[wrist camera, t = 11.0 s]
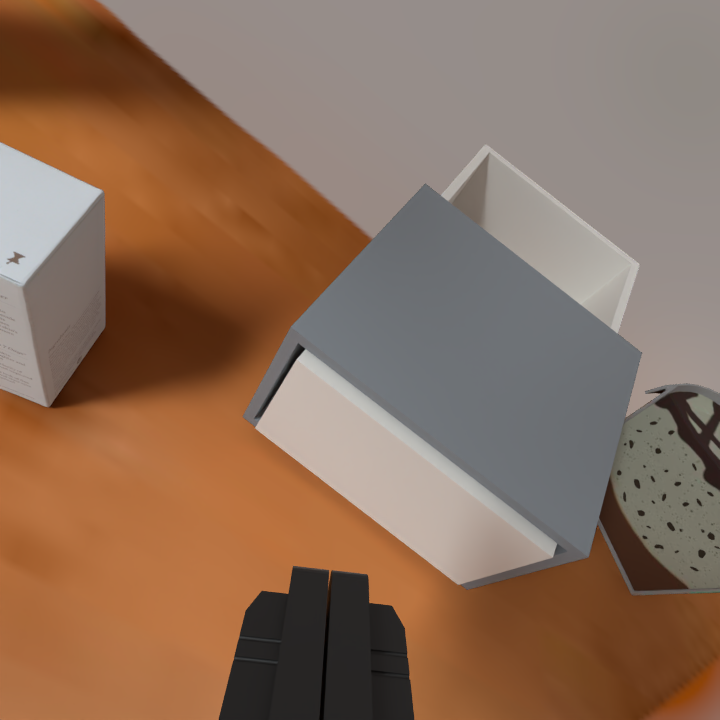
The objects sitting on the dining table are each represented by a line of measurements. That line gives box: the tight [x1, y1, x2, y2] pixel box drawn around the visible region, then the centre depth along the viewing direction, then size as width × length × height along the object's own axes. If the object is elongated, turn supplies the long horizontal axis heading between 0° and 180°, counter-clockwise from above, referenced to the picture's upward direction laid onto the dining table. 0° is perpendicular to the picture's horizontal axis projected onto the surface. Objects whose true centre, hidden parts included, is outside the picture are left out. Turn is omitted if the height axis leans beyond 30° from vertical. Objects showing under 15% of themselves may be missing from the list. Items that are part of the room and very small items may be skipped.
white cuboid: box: [255, 144, 639, 585], centre depth 34 cm, size 25×14×8 cm, turn 149°
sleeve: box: [243, 184, 642, 590], centre depth 31 cm, size 14×16×10 cm
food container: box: [597, 384, 720, 595], centre depth 34 cm, size 12×6×10 cm, turn 20°
